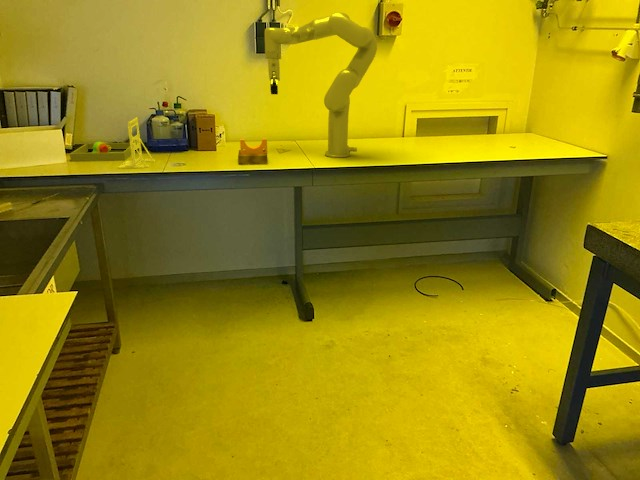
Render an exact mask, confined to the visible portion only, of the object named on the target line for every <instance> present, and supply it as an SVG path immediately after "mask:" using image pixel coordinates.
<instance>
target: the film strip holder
mask: <svg viewBox="0 0 640 480" xmlns="http://www.w3.org/2000/svg"><path fill="white" fill-rule="evenodd" d="M139 125H140V124H139V119H138V117H134V118H133V119H132V120H129V121H127V132H128V134H127V135H128V139H129V143H130V149H131V155H130V157H131V160H124V161H123V162H122V164H121V165H118V166H117V169H150V165H148V164H147V163H155V162H156V159H154V158H153V157H152V156H151V153H150V152H149V151H148V148H147V147H146V146H145V144H144V143H143V141H142V138H140V137H141V134H140V127H139ZM135 126H136V127H135ZM134 127H135V128H136V133H137V134H136V135H134V136H133V128H134ZM142 147H143V148H144V150H145V151H146V153H147V155H148V157H149V158H145V159H144V158H143V152H142ZM135 150H136V151H135ZM136 152H137V154H138V158H137V159H136ZM142 163H143V164H142ZM141 164H142V165H141Z"/></svg>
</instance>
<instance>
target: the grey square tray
mask: <svg viewBox="0 0 640 480" xmlns="http://www.w3.org/2000/svg"><path fill="white" fill-rule="evenodd" d="M95 143H96V142H91V143H89V142H87V143H84V144H83V145H81V146H80V147H78V148H77V149H75V150H73V151H71V152H70V153H69V156H70V162H102V161H103V162H104V161H106V162H107V161H108V162H109V161H110V162H113V161H115V162H117V161H127V159H128V158H130V157H131V156H132V154H131V149H130V142H112V143H111V142H105V143H106V144H107V145H110V147H111V148H112V149H126V150H123V151H122V152H110V153H92V152H89V151H88V149H93V145H94V144H95Z"/></svg>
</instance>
